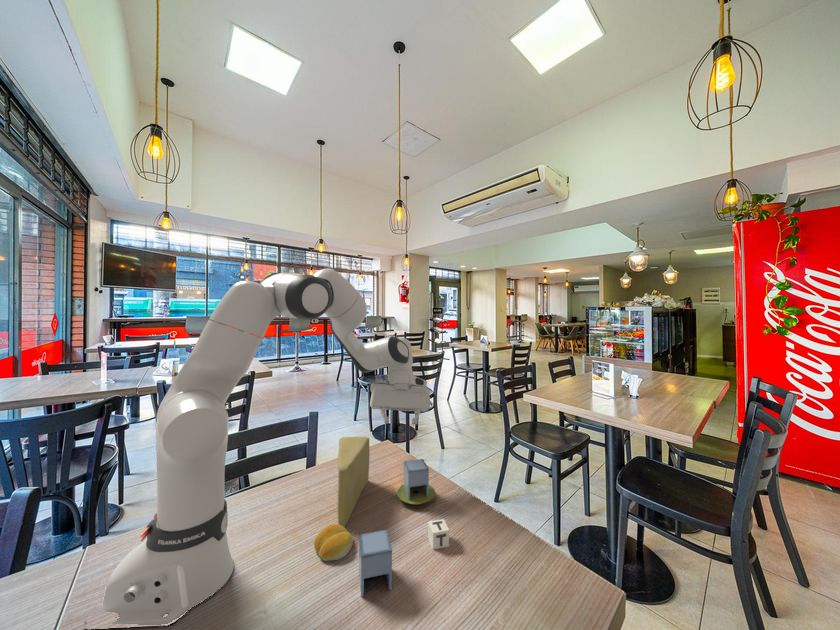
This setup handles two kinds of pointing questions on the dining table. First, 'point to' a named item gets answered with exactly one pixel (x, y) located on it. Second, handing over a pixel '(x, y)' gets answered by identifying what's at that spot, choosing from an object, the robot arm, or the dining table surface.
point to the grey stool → (416, 476)
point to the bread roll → (333, 542)
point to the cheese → (351, 474)
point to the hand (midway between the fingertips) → (400, 423)
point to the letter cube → (438, 534)
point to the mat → (416, 495)
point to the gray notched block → (375, 557)
